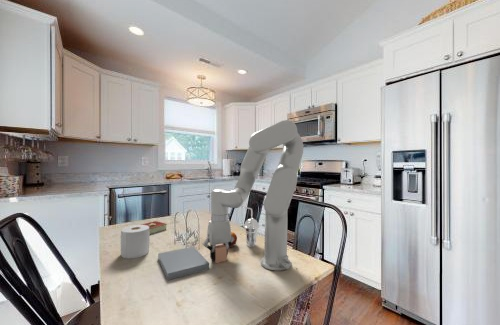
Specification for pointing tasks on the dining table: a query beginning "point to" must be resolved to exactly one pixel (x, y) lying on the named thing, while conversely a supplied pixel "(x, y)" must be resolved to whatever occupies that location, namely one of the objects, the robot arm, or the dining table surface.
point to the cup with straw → (251, 230)
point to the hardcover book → (155, 226)
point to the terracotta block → (220, 253)
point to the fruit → (234, 239)
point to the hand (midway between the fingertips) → (219, 257)
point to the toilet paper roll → (134, 241)
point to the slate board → (182, 262)
